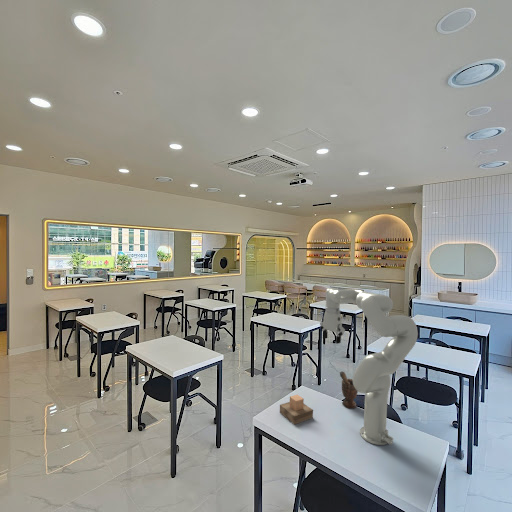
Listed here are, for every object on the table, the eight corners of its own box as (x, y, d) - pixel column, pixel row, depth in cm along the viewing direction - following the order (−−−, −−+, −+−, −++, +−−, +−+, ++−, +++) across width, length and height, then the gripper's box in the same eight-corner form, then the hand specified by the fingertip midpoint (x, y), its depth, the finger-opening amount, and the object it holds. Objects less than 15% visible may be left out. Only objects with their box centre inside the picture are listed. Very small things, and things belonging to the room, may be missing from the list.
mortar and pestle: (352, 413, 152) (353, 376, 151) (336, 407, 157) (337, 371, 157) (359, 405, 161) (360, 369, 161) (344, 399, 166) (345, 365, 166)
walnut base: (312, 417, 147) (313, 409, 147) (294, 424, 140) (294, 416, 140) (297, 406, 157) (297, 399, 157) (279, 412, 151) (279, 404, 151)
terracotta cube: (303, 408, 148) (303, 398, 148) (295, 410, 145) (295, 401, 145) (297, 403, 152) (297, 394, 152) (289, 406, 150) (289, 396, 149)
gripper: (349, 312, 156) (348, 344, 156) (325, 307, 171) (324, 335, 171) (340, 313, 152) (339, 346, 152) (316, 308, 167) (315, 337, 167)
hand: (331, 340), depth 162 cm, fingers open, 9 cm apart
